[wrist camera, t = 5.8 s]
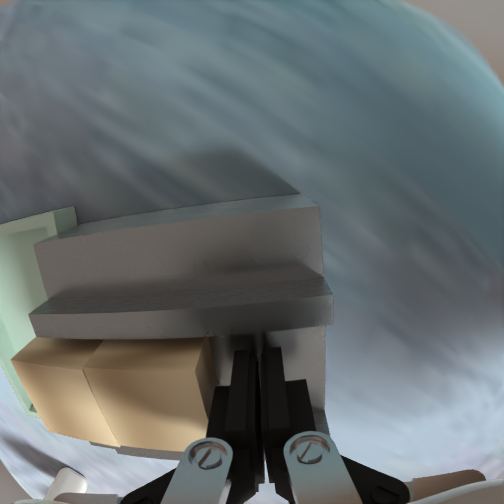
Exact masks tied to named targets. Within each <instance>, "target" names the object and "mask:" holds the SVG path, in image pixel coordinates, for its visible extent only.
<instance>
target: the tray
mask: <svg viewBox="0 0 504 504" xmlns="http://www.w3.org/2000/svg"><path fill="white" fill-rule="evenodd" d="M76 226H78V224H77V218H76V213H75V207H74V206H71V207H67V208H62V209H58V210H54V211H49V212H45V213H41V214H37V215H33V216H29V217H25V218H21V219H18V220H14V221H10V222H6V223H3V224H0V365H1V367H2V369H3V371H4V373H5V375H6V377H7V379H8V381H9V383H10V385H11V387H12V389H13V391H14V393H15V394H16V396H17V398H18V400H19V401H20V403H21V405H22V407H23V408H24V410H25V412H26V413H27V415H28V416H32V417H36V418H40V416H39V414H38V413H37V411H36V409H35V407H34V406H33V404H32V402H31V400H30V398H29V397H28V395H27V393H26V391H25V389H24V387H23V385H22V383H21V381H20V379H19V377H18V375H17V373H16V371H15V369H14V367H13V365H12V362H11V360H10V359H11V358H13V357H14V356H15V355H16V354H17V353H18V352H19V351H20V350H21V349H22V348H24V347H25V346H26V345H27V344H28V343H29V342H30V341H31V340H33V339H34V338H35V337H36V335H35V332H34V329H33V327H32V324H31V321H30V318H29V316H28V314H29V313H31V312H32V311H33V310H34V309H36V308H37V307H38V306H40V305H41V304H43V303H44V302H45V301H47V300H48V298H47V295H46V292H45V288H44V285H43V281H42V278H41V274H40V270H39V267H38V263H37V259H36V255H35V250H34V246H33V244H35V243H37V242H39V241H42V240H44V239H46V238H49V237H51V236H54V235H56V234H58V233H61V232H63V231H66V230H68V229H71V228H73V227H76ZM40 419H41V418H40Z"/></svg>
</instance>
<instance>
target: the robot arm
mask: <svg viewBox="0 0 504 504" xmlns="http://www.w3.org/2000/svg"><path fill="white" fill-rule="evenodd" d="M264 452H265V458H266V464H267V471H268V477H269V483H275V490H276V493H277V494H278V495H280V496H281V497H283V498H284V499H286V500H288V504H504V479H499V480H486V478H485V476H484V475H483V474H482V473H481V472H479V471H477V470H473V469H472V470H463V471H458V472H453V473H447V474H442V475H436V476H429V477H422V478H414V479H412V481H411V482H402V481H400V480H398V479H396V478H394V477H391V476H389V475H386V474H384V473H381V472H379V471H376V470H374V469H371V468H369V467H367V466H364V465H362V464H360V463H357V462H355V461H353V460H351V459H349V458H346V457H344V456H342V455H340V454H339V451H338V449H337V447H336V445H335V443H334V441H333V440H332V439H331V438H330V437H329V436H327V435H326V434H324V433H321V432H316V427H315V421H314V416H313V411H312V406H311V401H310V396H309V391H308V386H307V381H306V379H300V380H292V381H285V376H284V367H283V358H282V350H281V346H280V347H270V348H266V352H261V386H260V378H259V371H258V363H257V356H256V353H251V352H250V349H247V350H235V351H234V358H233V366H232V374H231V382H230V385H229V386H216V387H215V389H214V394H213V399H212V404H211V410H210V415H209V421H208V426H207V432H206V437H205V438H203V439H199V440H197V441H194V442H192V443H191V444H190V445H189V446H187V448H186V449H185V451H184V453H183V455H182V457H181V459H180V462H179V464H178V466H177V468H175V469H173V470H171V471H170V472H168V473H166V474H164V475H163V476H161V477H159V478H157V479H155V480H153V481H152V482H150V483H148V484H146V485H144V486H142V487H140V488H138V489H136V490H134V491H132V492H130V493H129V494H127V495H126V496H124V497H119V496H118V495H117V494H86V493H71V492H67V493H62V494H59V495H58V496H57V497H55V498H54V500H53V501H51V500H39V499H30V500H29V499H28V500H21V501H16V502H13V503H11V504H247V500H249V499H250V498H251V497H253V496H254V495H255V494H256V492H259V484H264V483H265V469H264Z"/></svg>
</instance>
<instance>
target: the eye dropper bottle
mask: <svg viewBox="0 0 504 504" xmlns="http://www.w3.org/2000/svg"><path fill="white" fill-rule="evenodd" d="M87 486H88V484H87V480H86V478H85V477H83V476H82V475H80V474H79V473H77V472H76V471H74V470H72V469H70V468H68V467H66V468H62V469H60V470H59V472H58V474H57V475H56V477H55V479H54V481H53V483H52V485H51V486H50V488H49V490H48V492H47V494H46V496H45V498H44V499H43V500H51V501H53V500H54V498H55V497H57V496H58V495H59V494H62V493H67V492H71V493H85V491H86V489H87Z"/></svg>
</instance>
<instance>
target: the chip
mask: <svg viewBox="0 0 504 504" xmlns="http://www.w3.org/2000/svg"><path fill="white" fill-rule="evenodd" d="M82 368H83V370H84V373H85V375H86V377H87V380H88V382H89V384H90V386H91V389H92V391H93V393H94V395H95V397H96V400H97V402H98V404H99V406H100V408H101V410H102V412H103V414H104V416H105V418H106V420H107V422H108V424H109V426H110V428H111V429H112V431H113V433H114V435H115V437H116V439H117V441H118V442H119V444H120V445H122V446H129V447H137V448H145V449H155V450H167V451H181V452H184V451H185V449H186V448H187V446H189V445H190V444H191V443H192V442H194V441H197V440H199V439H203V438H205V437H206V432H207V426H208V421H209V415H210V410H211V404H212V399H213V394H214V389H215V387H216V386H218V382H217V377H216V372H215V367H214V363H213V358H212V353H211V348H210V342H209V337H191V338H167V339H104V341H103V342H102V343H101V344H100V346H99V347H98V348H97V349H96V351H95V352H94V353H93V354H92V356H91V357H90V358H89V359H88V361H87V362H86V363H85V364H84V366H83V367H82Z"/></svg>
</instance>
